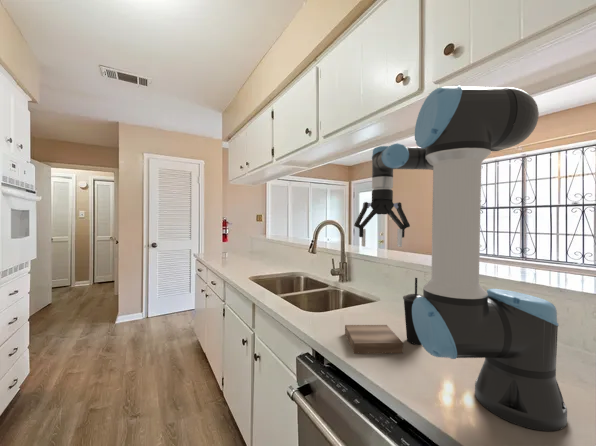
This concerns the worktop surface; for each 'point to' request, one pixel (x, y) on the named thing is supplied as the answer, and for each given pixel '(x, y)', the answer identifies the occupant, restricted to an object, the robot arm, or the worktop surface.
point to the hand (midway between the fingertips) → (381, 246)
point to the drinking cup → (410, 328)
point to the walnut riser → (373, 339)
